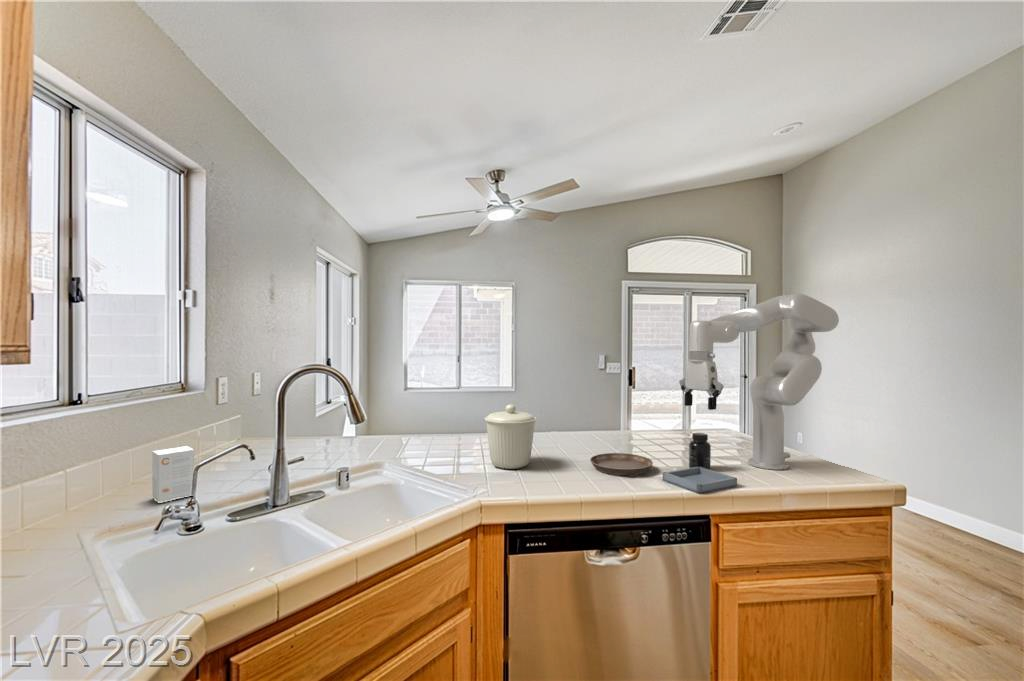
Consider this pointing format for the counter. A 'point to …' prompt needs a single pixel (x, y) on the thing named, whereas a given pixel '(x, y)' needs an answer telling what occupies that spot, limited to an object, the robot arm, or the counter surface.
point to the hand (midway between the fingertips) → (699, 407)
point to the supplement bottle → (699, 451)
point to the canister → (510, 437)
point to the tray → (699, 479)
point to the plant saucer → (621, 463)
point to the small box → (172, 473)
